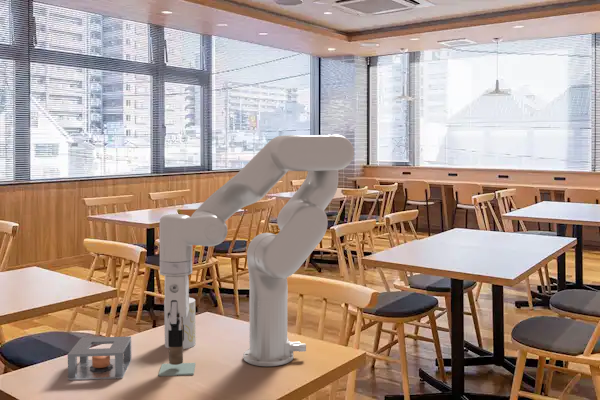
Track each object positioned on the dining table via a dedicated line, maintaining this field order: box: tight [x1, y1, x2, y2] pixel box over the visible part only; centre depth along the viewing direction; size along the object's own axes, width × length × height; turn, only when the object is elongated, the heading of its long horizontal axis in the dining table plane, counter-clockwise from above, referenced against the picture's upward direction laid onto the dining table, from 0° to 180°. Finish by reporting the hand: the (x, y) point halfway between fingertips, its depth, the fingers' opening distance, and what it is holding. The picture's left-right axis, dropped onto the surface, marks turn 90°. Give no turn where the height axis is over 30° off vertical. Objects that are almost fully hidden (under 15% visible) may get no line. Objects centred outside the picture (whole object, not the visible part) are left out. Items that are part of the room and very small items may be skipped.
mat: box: [158, 362, 196, 377], centre depth 142 cm, size 8×7×1 cm
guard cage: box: [67, 336, 133, 381], centre depth 141 cm, size 12×12×6 cm
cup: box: [163, 297, 197, 350], centre depth 160 cm, size 8×8×12 cm
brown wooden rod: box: [168, 314, 184, 365], centre depth 141 cm, size 3×3×13 cm
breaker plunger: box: [91, 356, 111, 368], centre depth 141 cm, size 4×4×2 cm
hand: (176, 343), depth 141 cm, fingers closed on brown wooden rod, 3 cm apart
